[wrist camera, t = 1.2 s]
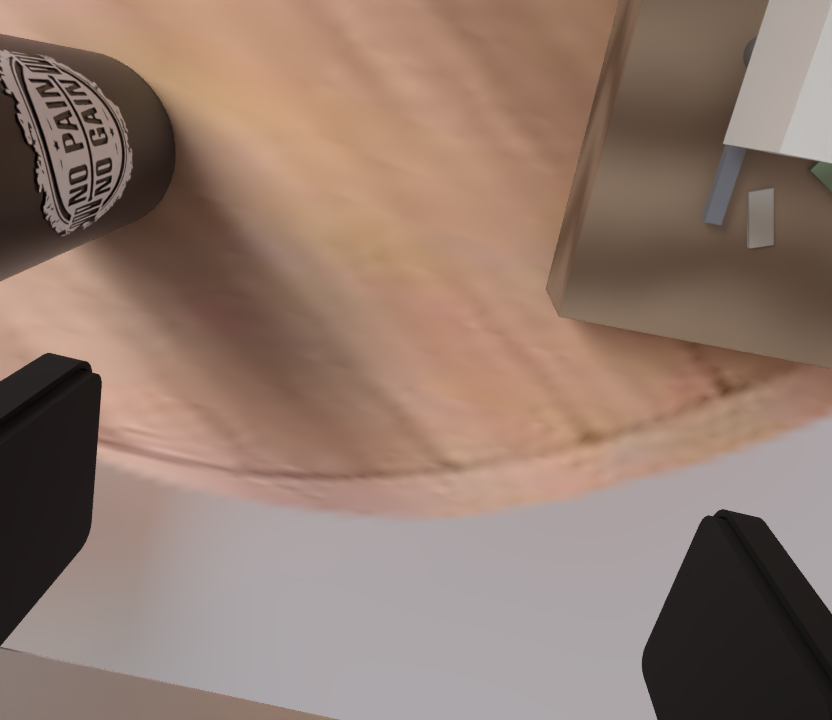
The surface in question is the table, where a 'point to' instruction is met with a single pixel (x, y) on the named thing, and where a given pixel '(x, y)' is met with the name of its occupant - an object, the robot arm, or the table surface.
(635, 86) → the brown slab
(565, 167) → the table surface
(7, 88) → the water bottle
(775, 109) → the peg
